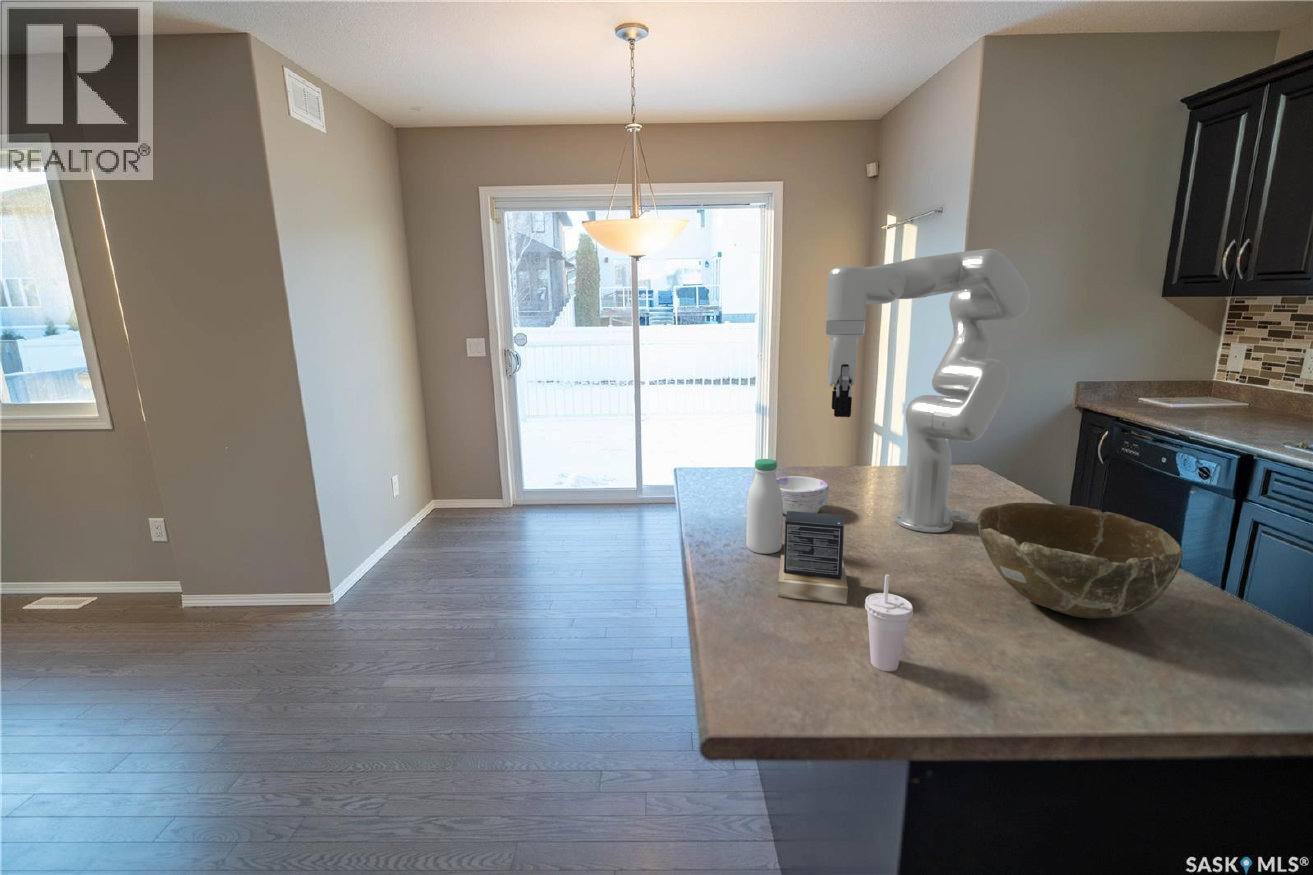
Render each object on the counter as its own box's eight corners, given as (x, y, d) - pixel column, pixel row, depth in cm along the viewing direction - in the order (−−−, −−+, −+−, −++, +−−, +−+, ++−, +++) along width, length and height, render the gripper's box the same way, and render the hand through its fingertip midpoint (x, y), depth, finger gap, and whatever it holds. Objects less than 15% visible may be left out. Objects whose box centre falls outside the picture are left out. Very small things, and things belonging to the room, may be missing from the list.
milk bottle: (781, 556, 118) (784, 465, 114) (745, 553, 120) (746, 464, 116) (781, 542, 126) (783, 456, 122) (746, 540, 127) (748, 455, 123)
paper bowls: (773, 500, 155) (773, 472, 154) (829, 505, 150) (831, 477, 148) (763, 517, 142) (763, 488, 140) (824, 524, 136) (826, 493, 134)
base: (842, 574, 109) (843, 559, 109) (846, 603, 98) (847, 587, 97) (780, 568, 112) (780, 554, 112) (777, 596, 101) (778, 580, 100)
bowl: (997, 639, 87) (1008, 549, 84) (955, 566, 112) (962, 496, 109) (1213, 664, 79) (1234, 568, 76) (1116, 581, 105) (1128, 506, 102)
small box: (841, 565, 106) (844, 513, 104) (842, 580, 100) (845, 525, 98) (785, 559, 109) (787, 508, 107) (782, 573, 103) (784, 520, 101)
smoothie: (853, 652, 84) (859, 566, 81) (894, 649, 84) (901, 564, 82) (873, 678, 78) (880, 586, 75) (917, 675, 78) (925, 584, 75)
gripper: (824, 329, 121) (820, 406, 125) (827, 330, 105) (823, 419, 109) (860, 328, 120) (855, 407, 123) (869, 330, 103) (864, 420, 107)
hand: (840, 412), depth 116 cm, fingers open, 9 cm apart
